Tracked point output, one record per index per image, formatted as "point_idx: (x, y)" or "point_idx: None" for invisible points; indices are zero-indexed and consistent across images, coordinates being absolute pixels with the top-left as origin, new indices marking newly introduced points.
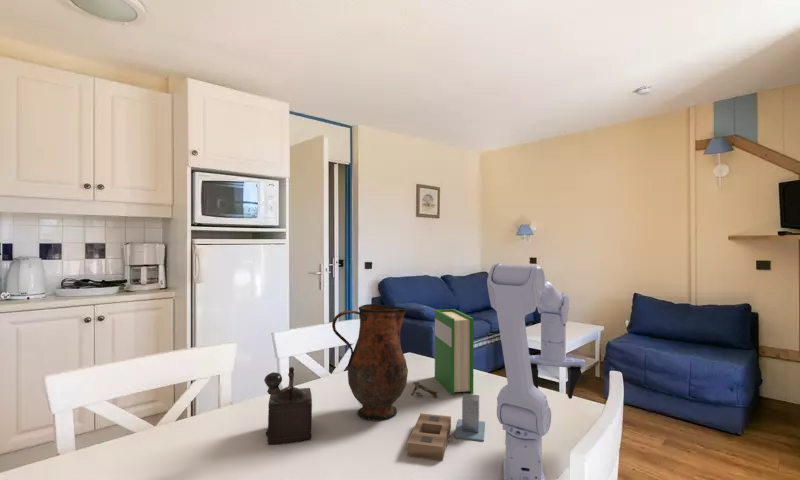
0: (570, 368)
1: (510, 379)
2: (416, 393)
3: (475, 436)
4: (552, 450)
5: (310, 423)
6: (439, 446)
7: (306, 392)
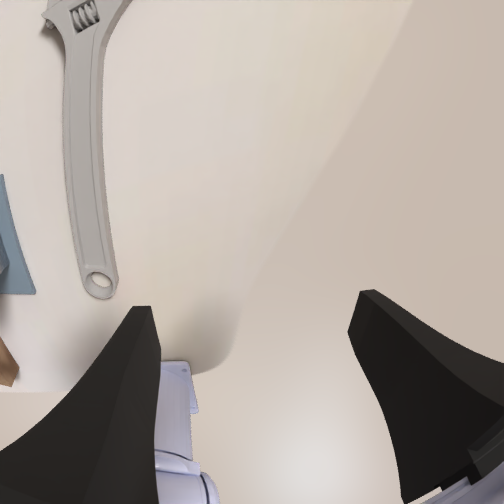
0: (443, 487)
1: None
2: None
3: (12, 283)
4: (219, 289)
5: None
6: (7, 385)
7: None
